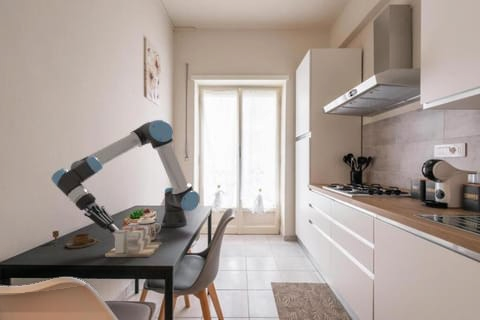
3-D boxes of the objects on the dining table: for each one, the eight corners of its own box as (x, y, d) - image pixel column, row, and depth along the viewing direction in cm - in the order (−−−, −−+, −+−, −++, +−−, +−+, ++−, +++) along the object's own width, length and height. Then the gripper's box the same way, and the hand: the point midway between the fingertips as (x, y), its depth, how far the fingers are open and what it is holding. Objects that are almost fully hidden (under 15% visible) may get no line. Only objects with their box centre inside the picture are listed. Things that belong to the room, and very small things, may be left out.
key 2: (130, 241, 129) (130, 223, 129) (138, 241, 129) (138, 223, 129) (127, 243, 126) (127, 224, 126) (135, 243, 126) (135, 224, 126)
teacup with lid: (139, 243, 132) (139, 218, 132) (134, 238, 139) (134, 215, 139) (163, 239, 138) (163, 215, 139) (157, 235, 146) (157, 213, 146)
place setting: (63, 253, 119) (63, 239, 119) (50, 244, 132) (50, 231, 132) (105, 244, 132) (105, 231, 132) (89, 236, 145) (89, 225, 145)
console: (123, 244, 129) (123, 223, 129) (161, 244, 129) (161, 223, 129) (105, 256, 112) (105, 232, 112) (149, 256, 112) (149, 232, 112)
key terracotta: (124, 245, 123) (124, 226, 123) (133, 245, 123) (133, 226, 123) (121, 248, 119) (121, 228, 119) (130, 248, 119) (130, 228, 119)
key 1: (118, 250, 116) (118, 229, 116) (127, 250, 116) (127, 229, 116) (114, 253, 113) (114, 231, 113) (123, 253, 113) (123, 231, 113)
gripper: (84, 202, 128) (120, 238, 127) (67, 206, 115) (107, 247, 114) (96, 190, 128) (132, 227, 127) (79, 193, 115) (119, 234, 114)
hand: (120, 236), depth 121 cm, fingers closed
